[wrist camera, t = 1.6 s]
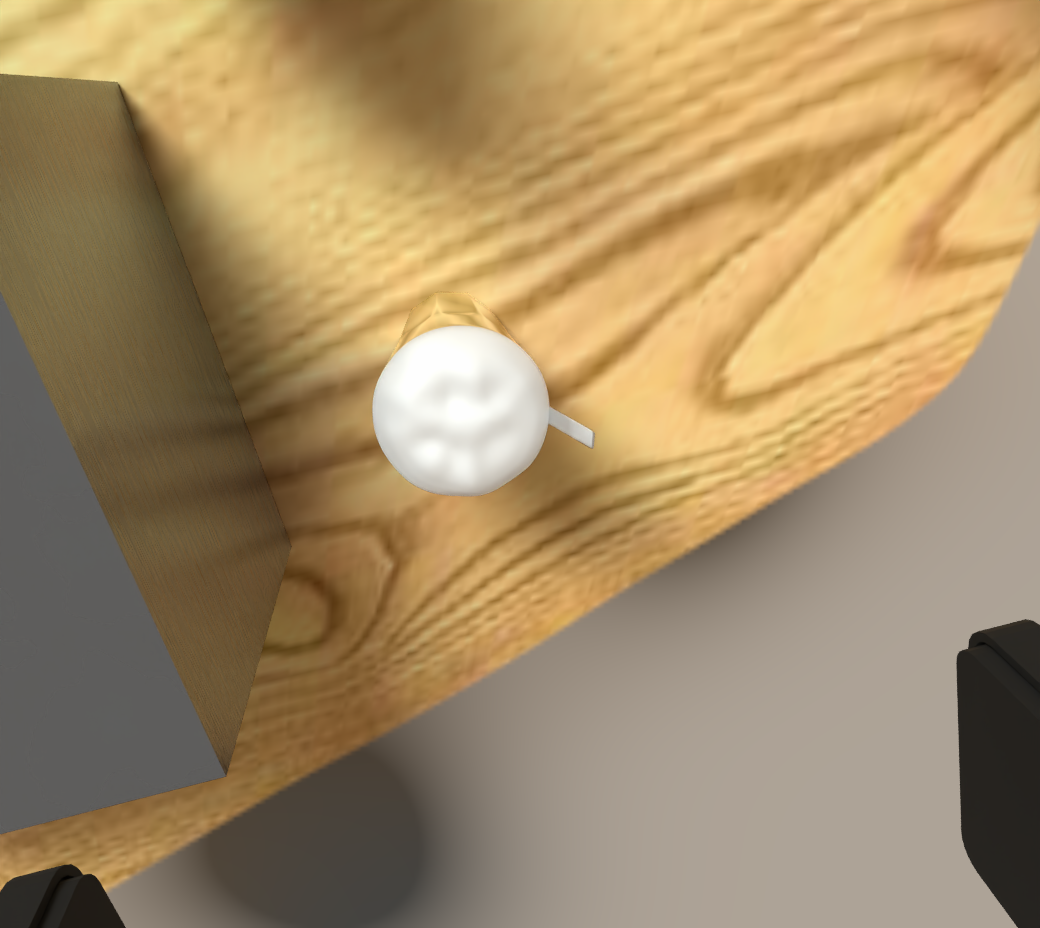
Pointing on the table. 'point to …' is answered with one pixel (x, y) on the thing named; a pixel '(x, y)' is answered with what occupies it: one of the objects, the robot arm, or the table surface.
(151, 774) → the box
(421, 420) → the milkshake
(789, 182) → the table surface
